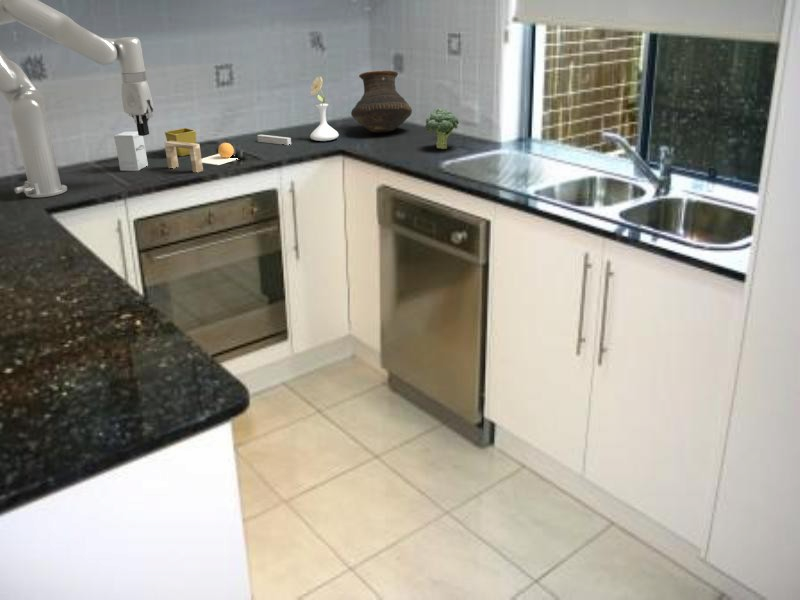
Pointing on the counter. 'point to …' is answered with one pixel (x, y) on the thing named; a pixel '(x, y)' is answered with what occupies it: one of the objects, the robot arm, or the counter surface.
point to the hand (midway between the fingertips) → (143, 134)
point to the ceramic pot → (380, 103)
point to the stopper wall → (274, 139)
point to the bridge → (194, 154)
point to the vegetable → (441, 125)
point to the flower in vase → (322, 116)
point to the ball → (225, 150)
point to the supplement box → (131, 151)
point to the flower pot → (182, 139)
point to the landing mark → (217, 160)
